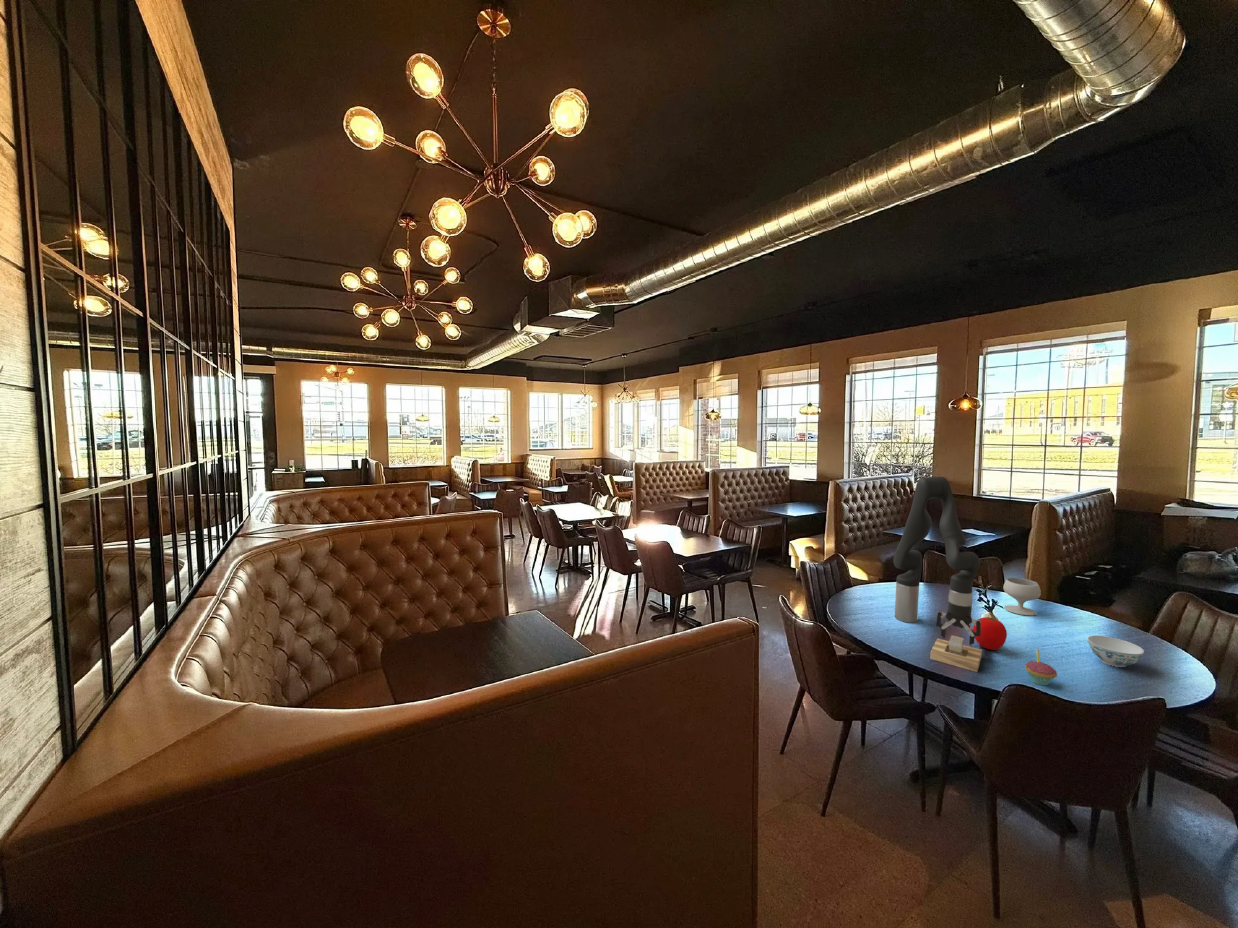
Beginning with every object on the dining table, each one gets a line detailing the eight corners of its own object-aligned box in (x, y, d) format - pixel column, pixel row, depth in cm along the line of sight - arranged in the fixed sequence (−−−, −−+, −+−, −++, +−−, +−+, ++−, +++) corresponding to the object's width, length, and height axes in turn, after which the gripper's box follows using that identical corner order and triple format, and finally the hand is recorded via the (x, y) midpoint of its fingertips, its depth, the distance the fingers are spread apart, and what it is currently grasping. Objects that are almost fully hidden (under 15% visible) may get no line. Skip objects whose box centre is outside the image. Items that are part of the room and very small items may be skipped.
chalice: (1035, 609, 236) (1038, 580, 235) (1041, 619, 224) (1044, 588, 223) (1000, 603, 244) (1002, 575, 242) (1003, 613, 232) (1006, 583, 230)
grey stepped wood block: (950, 652, 193) (951, 635, 192) (962, 656, 190) (963, 638, 190) (947, 659, 188) (949, 641, 187) (960, 662, 185) (961, 644, 184)
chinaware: (1084, 650, 195) (1085, 632, 194) (1137, 661, 185) (1139, 642, 185) (1088, 664, 183) (1090, 645, 183) (1145, 678, 174) (1148, 658, 173)
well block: (936, 645, 200) (937, 638, 199) (981, 657, 190) (982, 649, 189) (930, 658, 188) (930, 651, 188) (977, 672, 178) (977, 664, 178)
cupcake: (1017, 676, 176) (1020, 644, 174) (1039, 675, 176) (1041, 643, 175) (1040, 689, 167) (1043, 656, 166) (1062, 688, 168) (1065, 655, 167)
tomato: (991, 655, 190) (994, 625, 189) (965, 643, 201) (967, 614, 200) (1012, 652, 193) (1015, 621, 192) (986, 640, 204) (988, 611, 203)
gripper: (983, 603, 185) (980, 643, 187) (939, 594, 194) (937, 632, 196) (981, 609, 179) (978, 650, 181) (936, 599, 189) (934, 638, 190)
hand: (957, 640), depth 189 cm, fingers open, 8 cm apart
